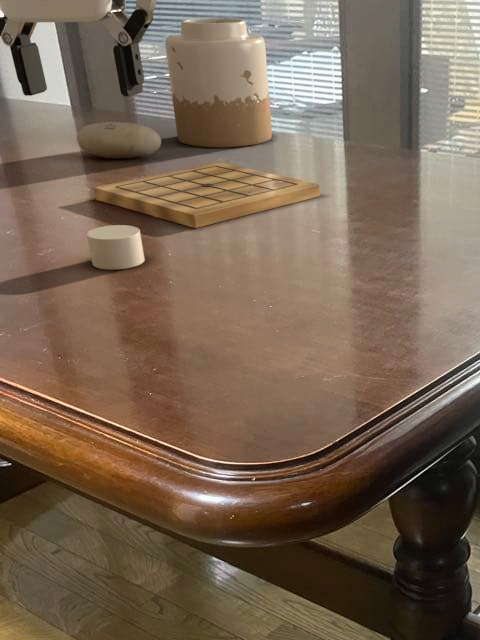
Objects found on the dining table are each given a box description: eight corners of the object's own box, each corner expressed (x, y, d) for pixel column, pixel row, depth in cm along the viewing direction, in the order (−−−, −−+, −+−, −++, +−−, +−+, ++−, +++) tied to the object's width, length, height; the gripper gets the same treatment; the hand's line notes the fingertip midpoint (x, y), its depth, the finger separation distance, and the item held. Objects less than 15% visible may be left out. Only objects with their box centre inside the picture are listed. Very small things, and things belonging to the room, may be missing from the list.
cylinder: (82, 262, 89) (75, 232, 87) (125, 251, 92) (120, 222, 91) (111, 273, 86) (105, 242, 85) (155, 261, 90) (150, 231, 88)
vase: (161, 137, 145) (145, 19, 135) (242, 127, 152) (232, 15, 143) (206, 152, 135) (191, 26, 125) (290, 140, 143) (282, 21, 133)
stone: (157, 143, 127) (71, 117, 124) (154, 181, 132) (71, 157, 129) (165, 122, 130) (82, 97, 127) (162, 160, 135) (81, 137, 132)
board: (95, 199, 110) (92, 186, 109) (219, 173, 123) (218, 161, 122) (195, 228, 100) (193, 214, 99) (320, 196, 112) (319, 183, 111)
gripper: (-89, -140, 69) (-25, 99, 79) (114, -148, 67) (154, 101, 76) (-33, -134, 75) (20, 87, 85) (154, -141, 73) (187, 88, 82)
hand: (83, 93), depth 81 cm, fingers open, 9 cm apart
